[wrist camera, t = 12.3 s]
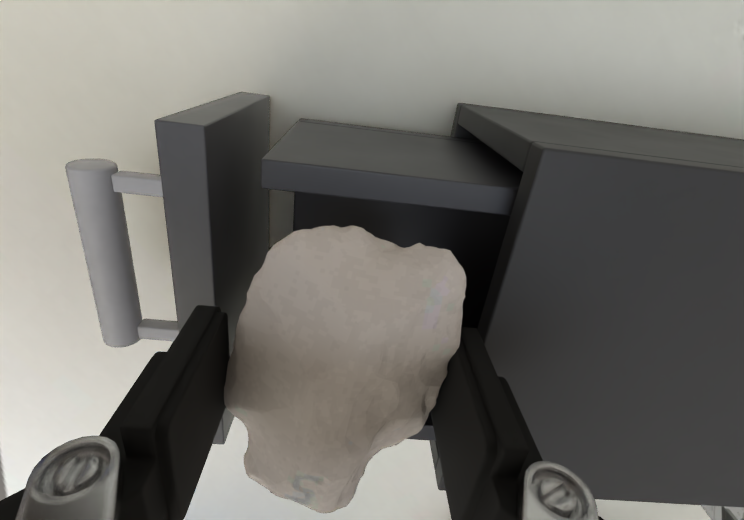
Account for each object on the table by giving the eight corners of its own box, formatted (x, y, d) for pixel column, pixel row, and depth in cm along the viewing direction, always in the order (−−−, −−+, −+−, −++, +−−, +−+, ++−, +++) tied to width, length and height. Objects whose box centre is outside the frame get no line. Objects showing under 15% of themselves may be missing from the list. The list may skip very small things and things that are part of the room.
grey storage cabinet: (410, 332, 24) (437, 491, 15) (457, 102, 18) (544, 147, 9) (646, 352, 25) (798, 511, 16) (761, 142, 19) (1089, 215, 10)
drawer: (164, 311, 21) (70, 435, 15) (134, 77, 16) (-34, 96, 9) (489, 339, 23) (544, 465, 16) (554, 131, 18) (679, 182, 11)
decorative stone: (370, 457, 14) (372, 550, 12) (208, 416, 13) (169, 509, 10) (496, 254, 11) (542, 321, 8) (289, 173, 10) (263, 220, 7)
